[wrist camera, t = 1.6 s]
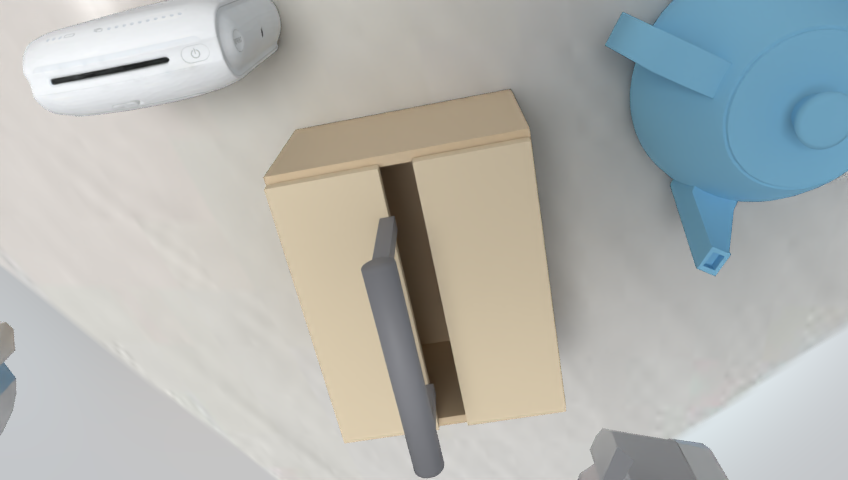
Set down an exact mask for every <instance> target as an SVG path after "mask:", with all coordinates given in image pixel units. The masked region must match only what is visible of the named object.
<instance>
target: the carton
mask: <svg viewBox="0 0 848 480" xmlns="http://www.w3.org/2000/svg"><path fill="white" fill-rule="evenodd" d="M378 164H379V169H380V173H381V177H382V181H383V186H384V190H385V194H386V198H387V203H388V207H389V211H390V215H391V216H395V221H396V225H397V229H398V230H397V239H396V241H397V245H398V249H399V254H400V258H401V262H402V267H403V271H404V275H405V279H406V284H407V288H408V292H409V296H410V301H411V305H412V309H413V313H414V318H415V322H416V326H417V330H418V335H419V339H420V343H421V347H422V352H423V356H424V360H425V364H426V369H427V373H428V377H429V381H430V384H434V388H435V393H436V411H437V415H438V420H439V426H443V425H450V424H457V423H463V422H467V423H468V425H475V424H482V423H489V422H496V421H503V420H510V419H517V418H524V417H531V416H538V415H545V414H552V413H558V412H565V411H566V404H565V396H564V389H563V381H562V373H561V366H560V358H559V350H558V343H557V335H556V327H555V320H554V312H553V304H552V297H551V289H550V281H549V274H548V266H547V258H546V251H545V243H544V235H543V228H542V220H541V212H540V205H539V197H538V189H537V182H536V174H535V166H534V159H533V151H532V143H531V136H530V128H529V126H528V124H527V122H526V120H525V118H524V116H523V114H522V112H521V109H520V107H519V105H518V103H517V101H516V99H515V97H514V95H513V93H512V91H511V89H507V90H502V91H497V92H492V93H486V94H481V95H476V96H471V97H465V98H460V99H455V100H450V101H444V102H439V103H434V104H429V105H423V106H418V107H413V108H408V109H402V110H397V111H392V112H387V113H381V114H376V115H371V116H366V117H360V118H355V119H350V120H345V121H339V122H334V123H329V124H324V125H318V126H313V127H308V128H303V129H297V130H295V131H294V133H293V134H292V136H291V137H290V139H289V140H288V142H287V143H286V145H285V146H284V148H283V149H282V151H281V152H280V154H279V155H278V157H277V158H276V160H275V161H274V163H273V164H272V165H271V167H270V168H269V170H268V171H267V173H266V174H265V176H264V177H263V178H264V181H265V184H266V186H267V185H269V184H274V183H279V182H285V181H290V180H296V179H301V178H307V177H312V176H318V175H323V174H329V173H334V172H339V171H345V170H350V169H356V168H361V167H367V166H372V165H378Z"/></svg>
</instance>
